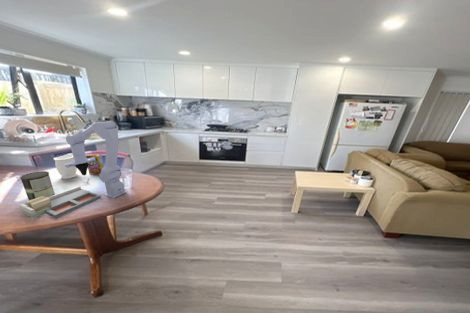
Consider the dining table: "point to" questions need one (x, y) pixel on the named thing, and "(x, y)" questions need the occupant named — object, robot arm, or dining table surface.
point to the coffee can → (37, 184)
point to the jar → (62, 168)
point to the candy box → (95, 164)
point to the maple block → (39, 203)
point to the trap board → (63, 203)
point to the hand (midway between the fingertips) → (84, 174)
